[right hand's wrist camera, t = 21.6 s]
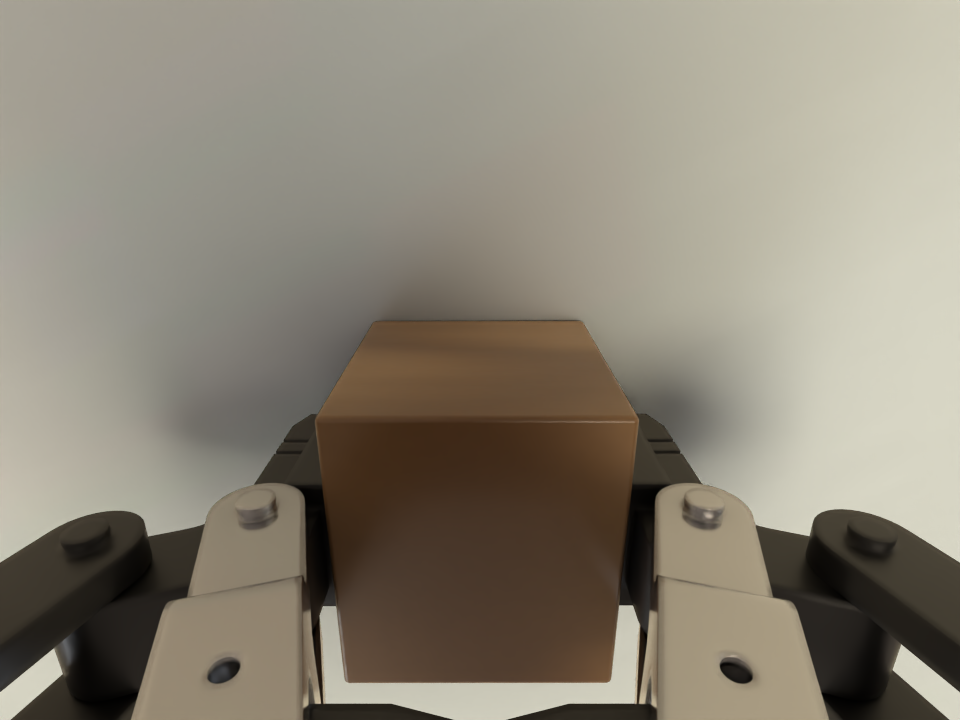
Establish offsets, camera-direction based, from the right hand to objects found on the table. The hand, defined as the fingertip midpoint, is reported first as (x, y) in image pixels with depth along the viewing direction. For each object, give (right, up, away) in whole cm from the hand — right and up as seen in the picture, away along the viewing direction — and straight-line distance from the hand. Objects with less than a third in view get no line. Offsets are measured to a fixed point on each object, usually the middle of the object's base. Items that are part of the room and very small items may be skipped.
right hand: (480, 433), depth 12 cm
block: (0, 0, +1) cm, 0 cm away
